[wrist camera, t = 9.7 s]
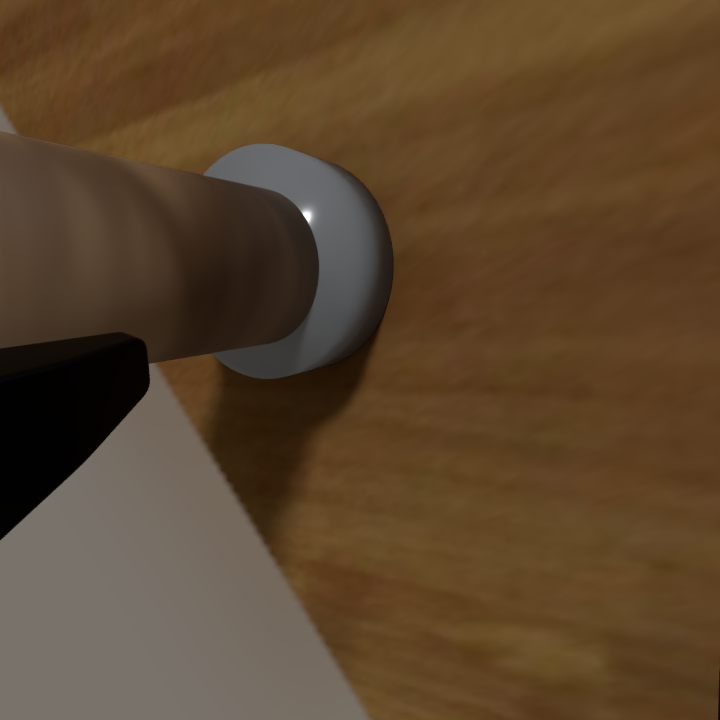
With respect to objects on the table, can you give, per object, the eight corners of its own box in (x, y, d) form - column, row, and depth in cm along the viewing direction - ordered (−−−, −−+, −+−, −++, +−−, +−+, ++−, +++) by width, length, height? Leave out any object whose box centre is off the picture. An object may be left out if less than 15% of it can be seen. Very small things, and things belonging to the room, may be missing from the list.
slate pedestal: (433, 297, 20) (399, 300, 18) (282, 402, 25) (237, 416, 22) (323, 111, 22) (276, 89, 19) (198, 242, 26) (147, 238, 24)
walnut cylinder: (346, 290, 19) (-80, 307, 8) (243, 370, 22) (-167, 460, 11) (269, 153, 20) (-207, 8, 9) (180, 249, 23) (-256, 225, 12)
